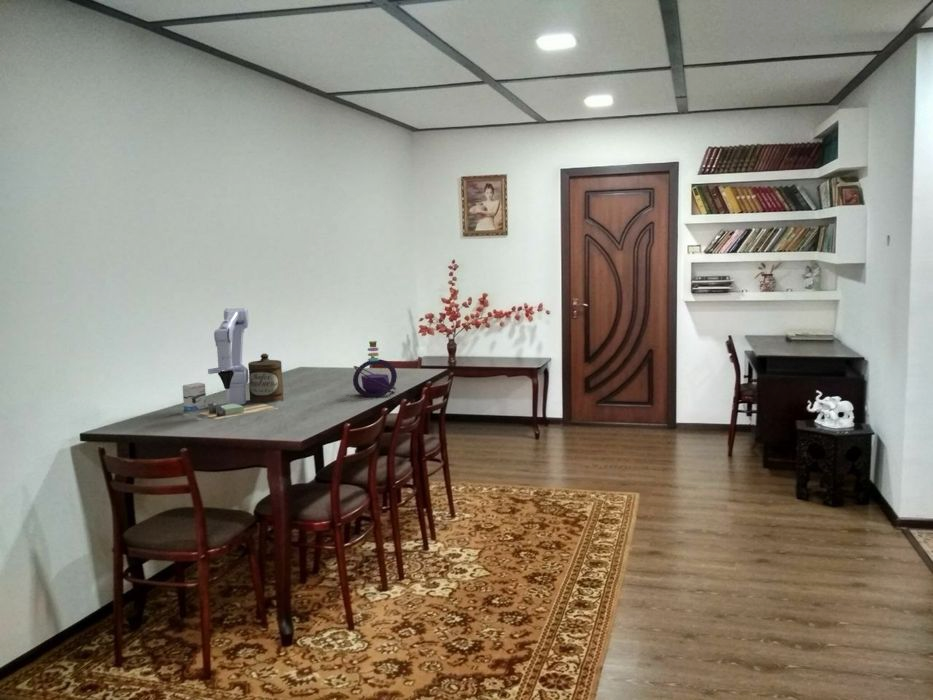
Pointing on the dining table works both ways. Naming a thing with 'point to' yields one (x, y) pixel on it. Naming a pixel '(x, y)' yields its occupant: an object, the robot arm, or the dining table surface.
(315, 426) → the dining table surface
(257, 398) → the wooden container
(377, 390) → the decorative bottle
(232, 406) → the mint green book-shaped slab
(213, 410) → the cylinder
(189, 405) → the ink box
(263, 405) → the bench board
